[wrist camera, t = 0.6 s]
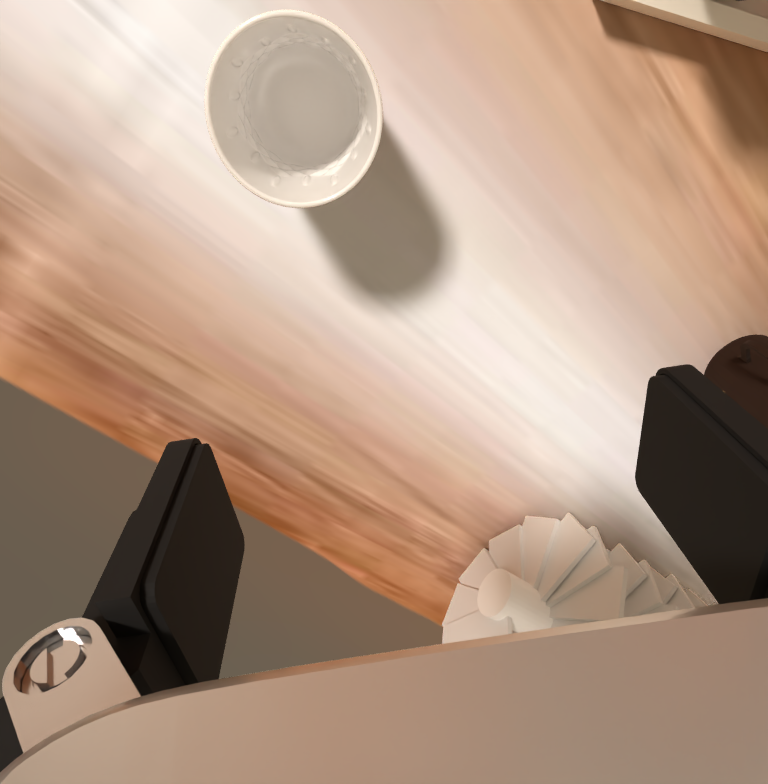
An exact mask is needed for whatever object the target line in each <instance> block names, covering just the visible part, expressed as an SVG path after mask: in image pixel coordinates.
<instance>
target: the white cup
mask: <svg viewBox="0 0 768 784" xmlns="http://www.w3.org/2000/svg"><path fill="white" fill-rule="evenodd" d="M204 103H205V116H206V122H207V127H208V131H209V134H210V137H211V140H212V143H213V145H214V147H215V150H216V152H217V154H218V155H219V157H220V159H221V161H222V162H223V164H224V165H225V167H226V168H227V169H228V171H229V172H230V173H231V174H232V175H233V177H234V178H235V179H236V180H237V181H238V182H239V183H240V184H242V185H243V186H244V187H245V188H246V189H248V190H249V191H250V192H252V193H253V194H255V195H257V196H258V197H260V198H262V199H264V200H266V201H269V202H271V203H274V204H277V205H281V206H285V207H292V208H310V207H316V206H320V205H324V204H327V203H330V202H332V201H334V200H336V199H338V198H340V197H341V196H343V195H345V194H346V193H347V192H349V191H350V190H351V189H352V188H353V187H355V186H356V185H357V184H358V182H359V181H360V180H361V179H362V178H363V177H364V175H365V174H366V172H367V171H368V169H369V168H370V166H371V164H372V162H373V160H374V158H375V155H376V153H377V150H378V147H379V143H380V139H381V134H382V126H383V107H382V99H381V94H380V89H379V86H378V82H377V79H376V77H375V74H374V72H373V69H372V67H371V65H370V63H369V62H368V60H367V58H366V57H365V55H364V53H363V52H362V51H361V49H360V48H359V47H358V45H357V44H356V43H355V42H354V41H353V40H352V39H351V38H350V37H349V36H348V35H347V34H346V33H345V32H344V31H343V30H341V29H340V28H339V27H337V26H336V25H334V24H333V23H331V22H330V21H328V20H326V19H324V18H322V17H319V16H317V15H314V14H311V13H308V12H304V11H298V10H275V11H270V12H266V13H262V14H260V15H257V16H255V17H253V18H251V19H249V20H247V21H245V22H244V23H242V24H241V25H240V26H238V27H237V28H236V29H235V30H234V31H233V32H232V33H231V34H230V35H229V36H228V37H227V38H226V39H225V40H224V42H223V43H222V44H221V46H220V47H219V49H218V51H217V53H216V54H215V56H214V58H213V61H212V63H211V66H210V69H209V72H208V76H207V80H206V86H205V99H204Z"/></svg>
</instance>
